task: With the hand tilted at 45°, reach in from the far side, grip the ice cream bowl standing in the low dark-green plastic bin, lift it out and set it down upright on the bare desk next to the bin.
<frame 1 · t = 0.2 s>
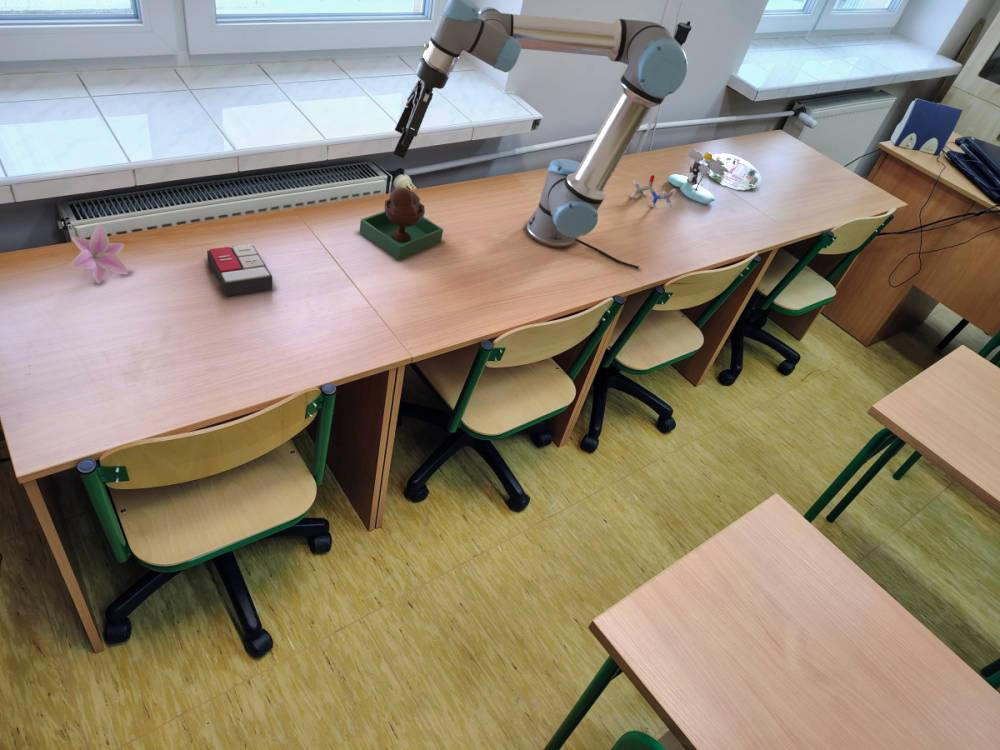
hand: (398, 143, 176), 28 cm above the table, tool tilted 20°, fingers open, 13 cm apart
penguin figurine: (689, 192, 257), on the table
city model: (729, 176, 276), on the table
lily: (101, 272, 160), on the table
bin: (400, 237, 196), on the table
molecular model: (647, 204, 243), on the table
ice cream bowl: (400, 237, 196), resting on bin
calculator: (239, 275, 169), on the table
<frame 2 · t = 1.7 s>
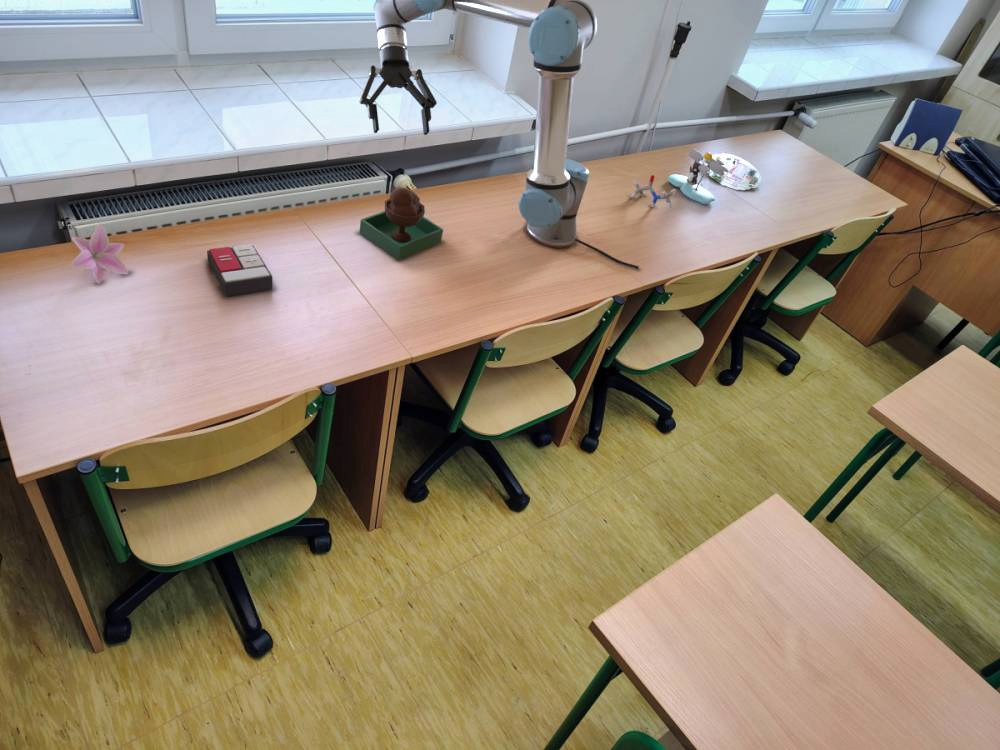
hand: (401, 132, 185), 26 cm above the table, tool tilted 45°, fingers open, 13 cm apart
nothing on the table moved.
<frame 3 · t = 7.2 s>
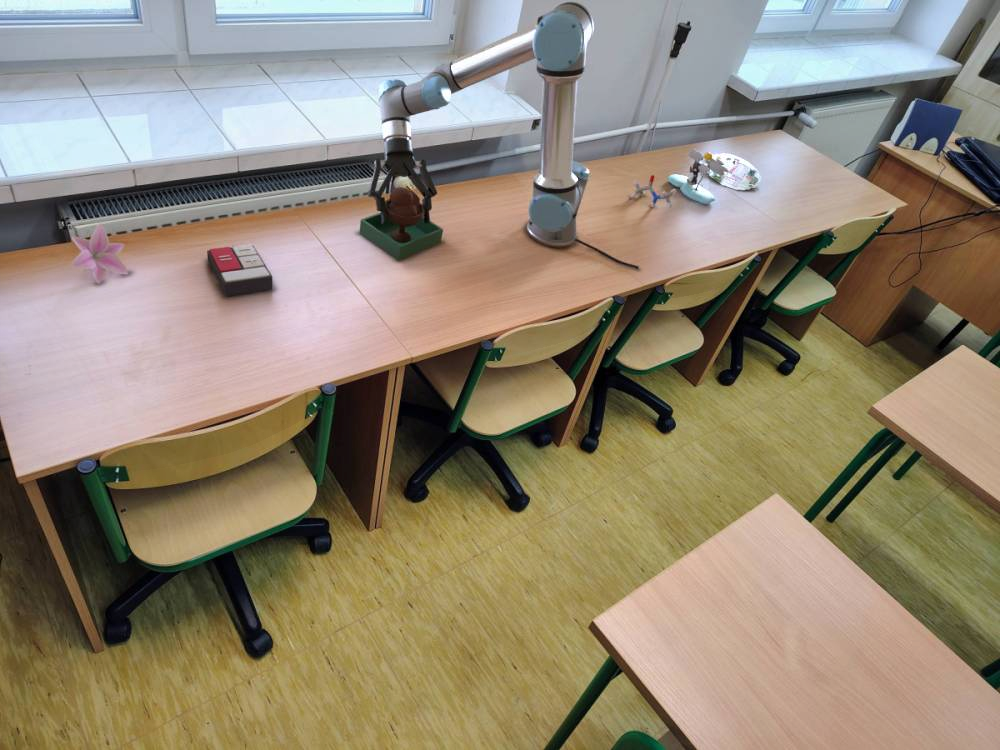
hand: (406, 222, 190), 7 cm above the table, tool tilted 45°, fingers closed on ice cream bowl, 11 cm apart
ice cream bowl: (400, 237, 196), resting on bin, touching gripper
everything else where it was.
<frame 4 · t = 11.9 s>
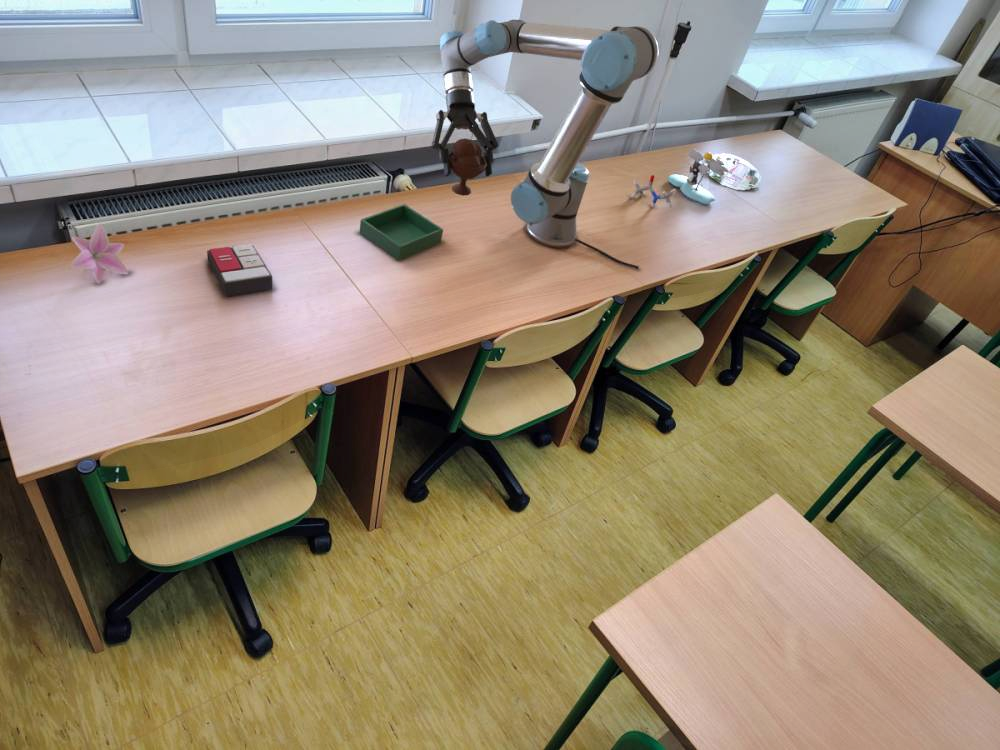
hand: (468, 174, 190), 19 cm above the table, tool tilted 45°, fingers closed on ice cream bowl, 11 cm apart
ice cream bowl: (461, 191, 196), point 13 cm above the table, touching gripper
everything else where it was.
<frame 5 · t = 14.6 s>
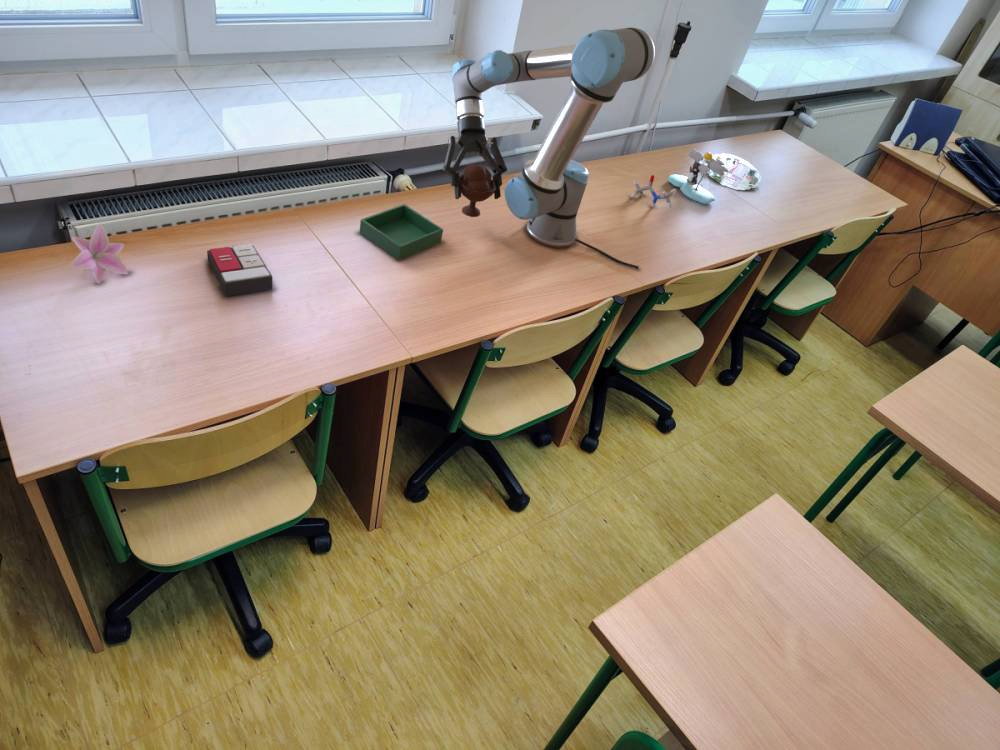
hand: (478, 197, 198), 11 cm above the table, tool tilted 45°, fingers closed on ice cream bowl, 11 cm apart
ice cream bowl: (470, 212, 204), point 5 cm above the table, touching gripper
everything else where it was.
when the fingers open (6 cm above the table, at t = 16.7 s): ice cream bowl stays where it is, on the table.
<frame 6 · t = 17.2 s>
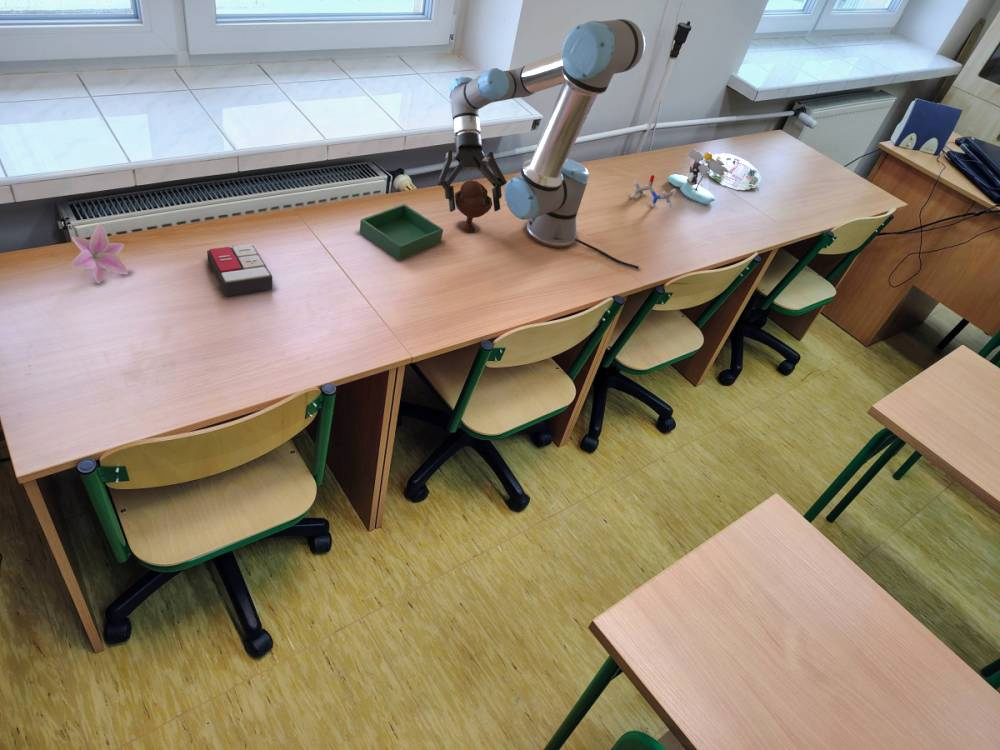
hand: (475, 210, 201), 7 cm above the table, tool tilted 45°, fingers open, 13 cm apart
ice cream bowl: (467, 228, 207), on the table
everything else where it was.
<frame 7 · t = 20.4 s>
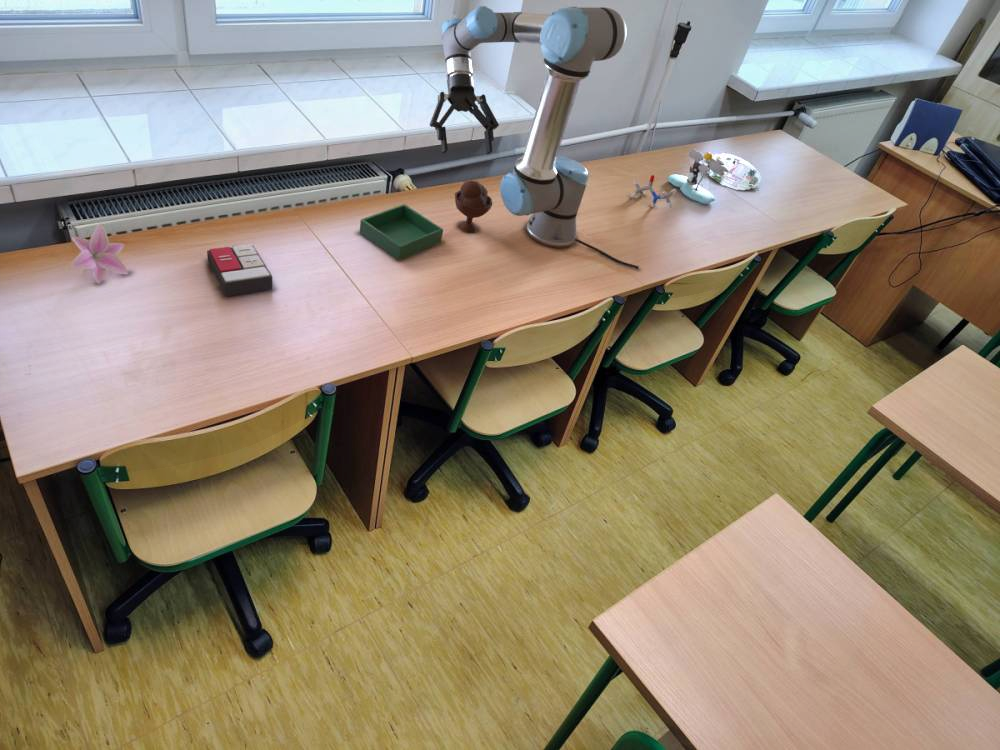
hand: (467, 152, 202), 18 cm above the table, tool tilted 45°, fingers open, 13 cm apart
nothing on the table moved.
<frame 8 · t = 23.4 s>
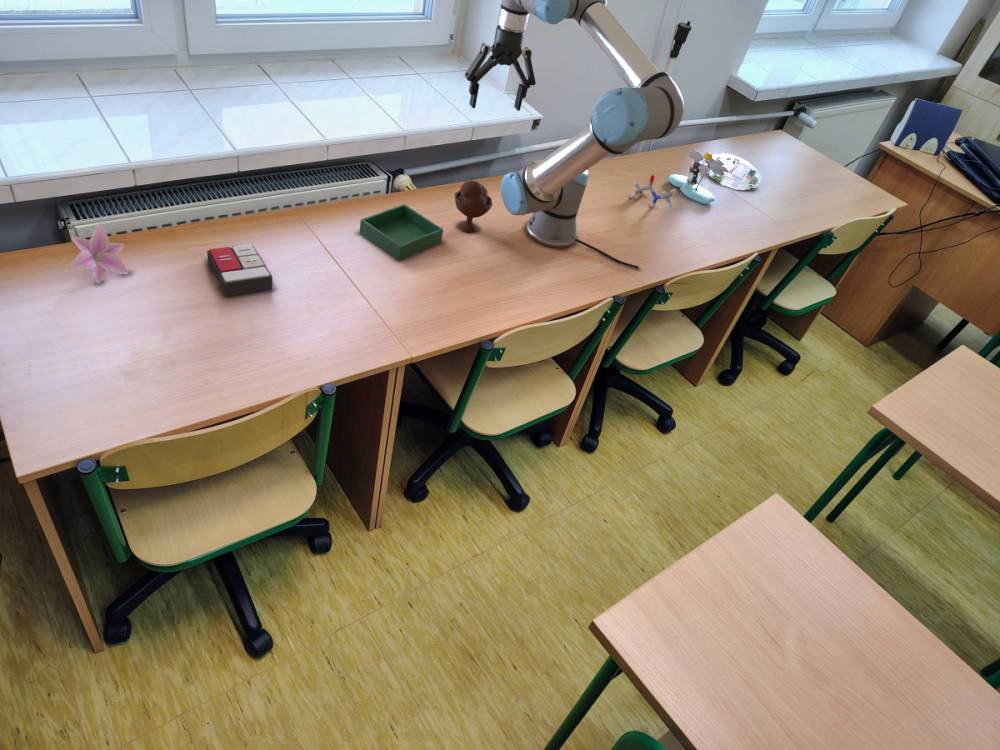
hand: (494, 107, 198), 31 cm above the table, tool pointing down, fingers open, 13 cm apart
nothing on the table moved.
at the end: ice cream bowl inside the target area (0.2 cm from its centre), on the table; ice cream bowl tilted 0°; the gripper is holding nothing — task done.
